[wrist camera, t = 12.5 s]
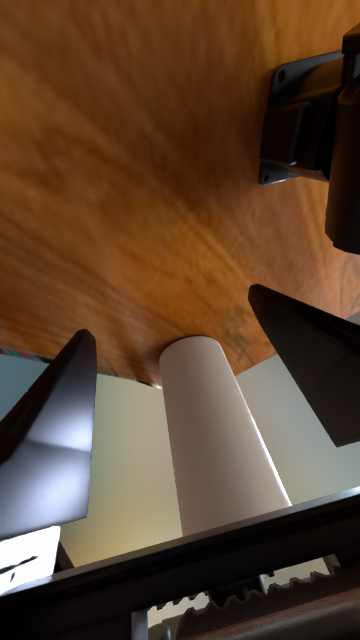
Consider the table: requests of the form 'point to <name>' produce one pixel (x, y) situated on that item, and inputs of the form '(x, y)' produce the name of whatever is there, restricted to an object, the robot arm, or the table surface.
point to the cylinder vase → (214, 440)
